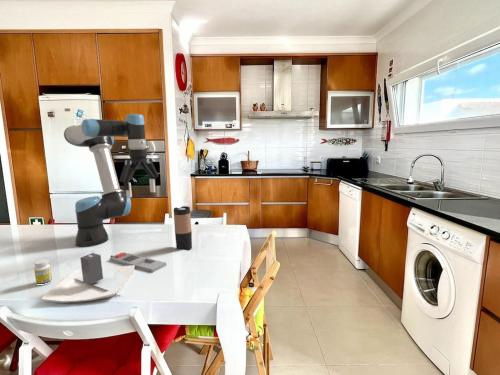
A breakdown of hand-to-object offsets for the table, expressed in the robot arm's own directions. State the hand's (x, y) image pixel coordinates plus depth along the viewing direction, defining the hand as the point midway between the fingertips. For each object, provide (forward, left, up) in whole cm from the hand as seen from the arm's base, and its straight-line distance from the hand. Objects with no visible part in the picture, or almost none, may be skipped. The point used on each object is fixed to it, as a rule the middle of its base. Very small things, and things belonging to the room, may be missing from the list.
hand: (141, 194), depth 132 cm
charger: (+12, -34, -25) cm, 44 cm away
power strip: (+10, -15, -27) cm, 32 cm away
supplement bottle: (-7, -41, -27) cm, 50 cm away
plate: (+12, -34, -28) cm, 45 cm away
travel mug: (+17, +8, -27) cm, 33 cm away
